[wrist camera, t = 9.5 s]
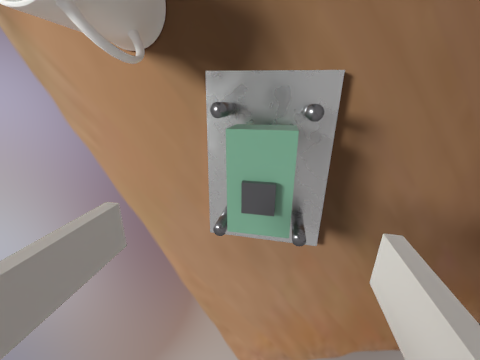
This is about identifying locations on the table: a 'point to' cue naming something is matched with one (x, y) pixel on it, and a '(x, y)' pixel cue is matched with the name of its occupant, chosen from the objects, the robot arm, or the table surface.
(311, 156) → the chassis
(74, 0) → the mug
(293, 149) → the board
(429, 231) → the table surface
